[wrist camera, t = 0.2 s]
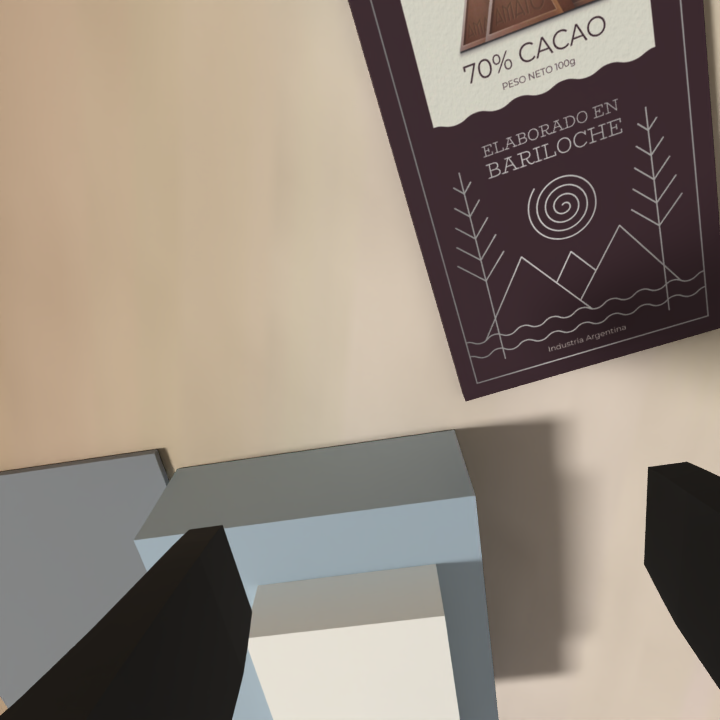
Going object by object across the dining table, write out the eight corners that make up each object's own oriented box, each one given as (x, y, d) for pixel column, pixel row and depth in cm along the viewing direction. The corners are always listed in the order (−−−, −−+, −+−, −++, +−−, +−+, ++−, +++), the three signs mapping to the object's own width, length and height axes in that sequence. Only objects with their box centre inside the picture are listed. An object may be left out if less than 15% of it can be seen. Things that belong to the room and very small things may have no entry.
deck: (483, 680, 24) (504, 774, 20) (261, 702, 25) (243, 797, 21) (454, 429, 19) (475, 495, 15) (177, 469, 20) (133, 540, 16)
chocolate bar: (465, 401, 18) (275, -251, 12) (461, 390, 19) (282, -223, 13) (727, 326, 17) (669, -446, 11) (709, 317, 18) (646, -400, 11)
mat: (257, 716, 25) (256, 723, 25) (35, 739, 26) (32, 745, 26) (157, 449, 20) (154, 453, 19) (-124, 490, 20) (-131, 494, 20)
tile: (461, 738, 20) (471, 799, 18) (312, 753, 20) (306, 813, 18) (435, 563, 16) (444, 615, 15) (257, 585, 17) (244, 638, 15)
